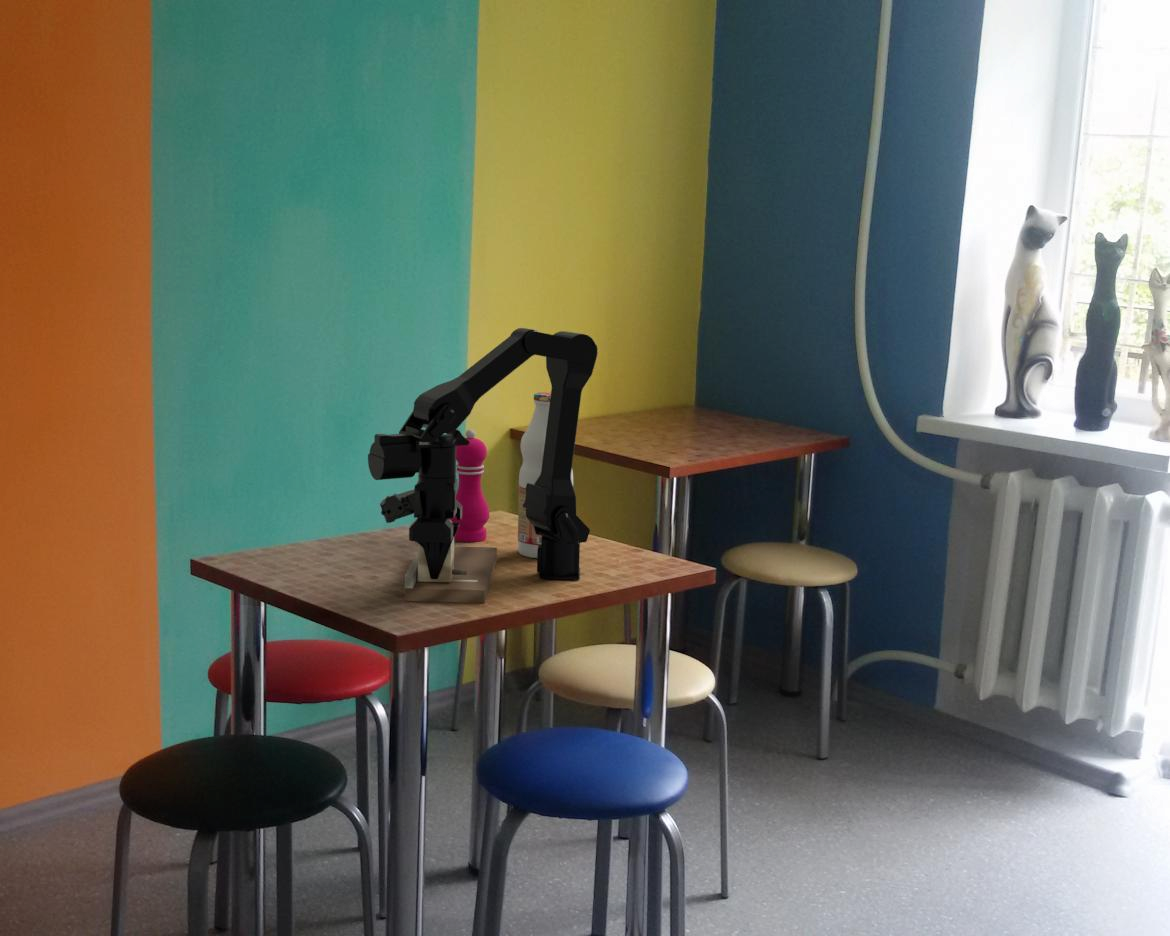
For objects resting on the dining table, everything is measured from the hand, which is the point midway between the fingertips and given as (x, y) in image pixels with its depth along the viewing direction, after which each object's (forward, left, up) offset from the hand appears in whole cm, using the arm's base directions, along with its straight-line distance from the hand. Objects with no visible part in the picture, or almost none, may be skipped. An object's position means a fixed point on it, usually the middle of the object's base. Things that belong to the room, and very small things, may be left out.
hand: (436, 574), depth 213 cm
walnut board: (-2, -8, -3) cm, 9 cm away
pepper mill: (-2, -37, -3) cm, 37 cm away
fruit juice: (-16, -27, -3) cm, 32 cm away
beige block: (-1, 0, 0) cm, 1 cm away
